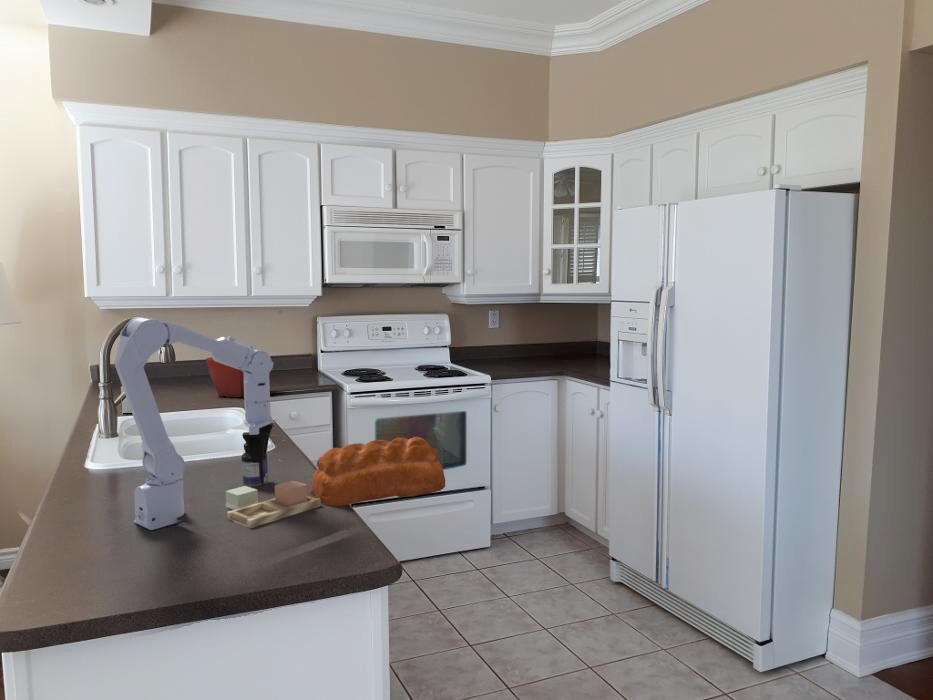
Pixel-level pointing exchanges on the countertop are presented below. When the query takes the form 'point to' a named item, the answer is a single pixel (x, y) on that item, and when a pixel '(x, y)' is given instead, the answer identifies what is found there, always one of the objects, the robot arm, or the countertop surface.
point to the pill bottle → (254, 470)
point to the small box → (125, 404)
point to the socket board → (269, 512)
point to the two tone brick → (241, 497)
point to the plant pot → (226, 379)
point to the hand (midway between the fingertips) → (259, 458)
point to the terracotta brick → (290, 493)
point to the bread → (377, 471)
